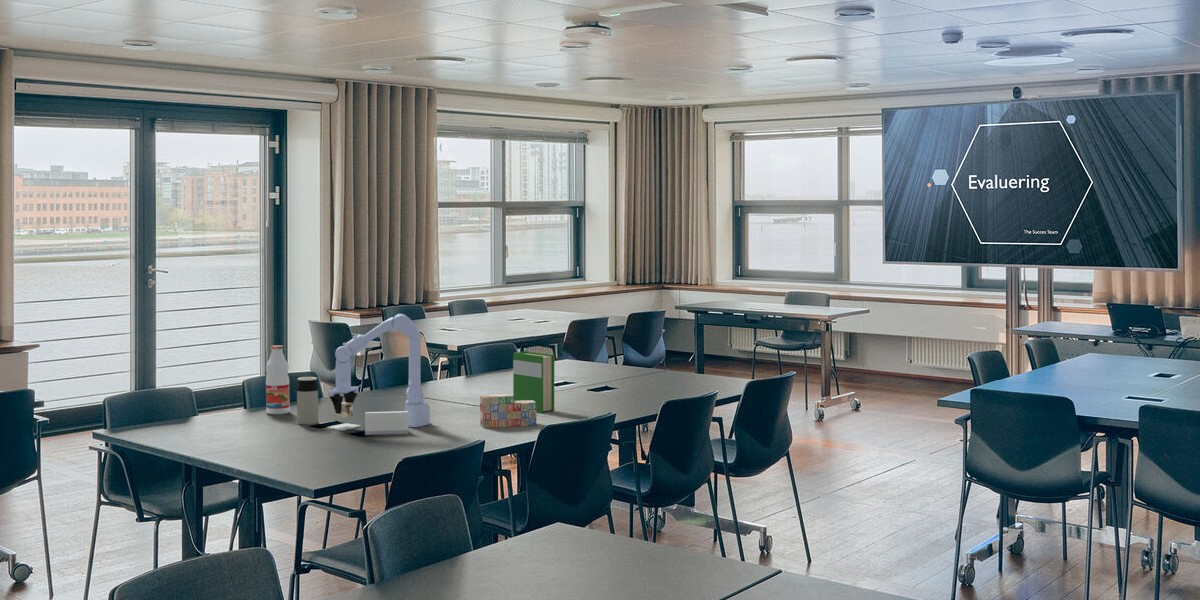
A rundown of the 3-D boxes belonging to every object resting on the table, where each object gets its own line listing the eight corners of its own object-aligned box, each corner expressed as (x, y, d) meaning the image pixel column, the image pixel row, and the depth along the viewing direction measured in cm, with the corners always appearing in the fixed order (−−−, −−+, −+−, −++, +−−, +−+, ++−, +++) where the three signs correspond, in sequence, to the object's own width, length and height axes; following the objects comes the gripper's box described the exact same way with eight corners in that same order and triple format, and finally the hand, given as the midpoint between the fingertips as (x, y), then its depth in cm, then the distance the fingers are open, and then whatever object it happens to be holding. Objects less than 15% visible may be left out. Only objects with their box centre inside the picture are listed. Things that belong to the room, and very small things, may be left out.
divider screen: (365, 434, 428) (365, 413, 427) (365, 432, 433) (365, 411, 432) (408, 433, 431) (408, 412, 430) (408, 431, 436) (408, 410, 435)
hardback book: (554, 411, 481) (554, 354, 480) (541, 413, 476) (541, 356, 474) (526, 406, 494) (526, 351, 492) (513, 408, 488) (513, 352, 487)
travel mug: (312, 425, 447) (312, 379, 445) (293, 424, 448) (293, 379, 447) (321, 421, 454) (321, 377, 453) (303, 421, 456) (302, 376, 455)
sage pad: (345, 424, 449) (345, 423, 449) (360, 426, 444) (360, 425, 444) (326, 428, 440) (326, 427, 440) (341, 430, 436) (341, 429, 436)
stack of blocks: (533, 423, 455) (533, 392, 454) (536, 425, 449) (536, 394, 448) (480, 425, 449) (479, 394, 449) (482, 428, 443) (482, 396, 442)
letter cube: (343, 414, 445) (343, 401, 445) (353, 415, 443) (353, 403, 442) (334, 416, 441) (334, 403, 441) (343, 417, 438) (343, 404, 438)
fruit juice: (293, 411, 479) (292, 344, 477) (284, 415, 469) (283, 347, 467) (272, 410, 480) (271, 344, 478) (262, 414, 471) (261, 346, 469)
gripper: (349, 374, 449) (349, 408, 450) (321, 378, 437) (322, 413, 438) (362, 375, 445) (362, 410, 446) (335, 380, 433) (335, 415, 434)
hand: (343, 412), depth 442 cm, fingers closed on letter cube, 5 cm apart
